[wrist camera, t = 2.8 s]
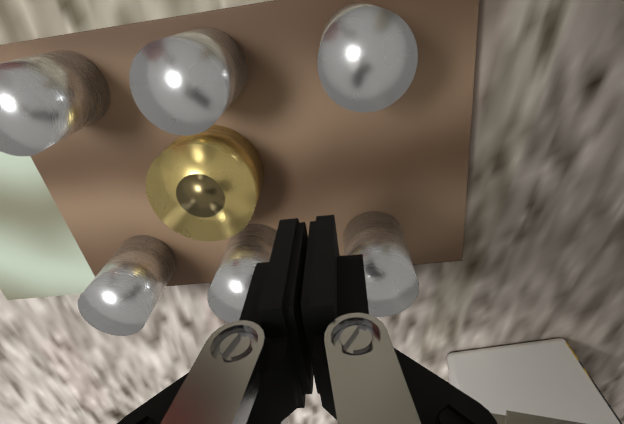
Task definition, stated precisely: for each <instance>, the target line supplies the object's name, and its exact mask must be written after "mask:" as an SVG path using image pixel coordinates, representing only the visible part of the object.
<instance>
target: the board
mask: <svg viewBox="0 0 624 424" xmlns="http://www.w3.org/2000/svg"><path fill="white" fill-rule="evenodd" d="M353 3H368V4H372V5H375V6H378V7H381V8H384V9H387V10H390V11H392V12H393V13H395V14H397V15H398V16H399V17H401V18H402V19H403V20H404V21H405V22H406V23H407V25H408V26H409V28H410V29H411V31H412V33H413V35H414V37H415V40H416V44H417V50H418V63H417V68H416V72H415V75H414V78H413V80H412V82H411V84H410V86H409V87H408V89H407V90H406V92H405V93H404V94H403V95H402V96H401V97H400V98H399V99H398V100H397V101H396V102H394V103H393V104H391V105H390V106H388V107H386V108H384V109H381V110H378V111H374V112H366V113H362V112H355V111H351V110H348V109H345V108H343V107H341V106H340V105H338V104H337V103H336V102H334V101H333V100H332V99H331V98H330V97H329V95H328V94H327V93H326V91H325V90H324V88H323V86H322V84H321V81H320V78H319V74H318V66H317V60H318V52H319V46H320V40H321V35H322V32H323V29H324V27H325V25H326V23H327V22H328V20H329V19H330V18H331V16H332V15H333V14H334V13H335V12H337V11H338V10H339V9H341V8H343V7H344V6H347V5H349V4H353ZM478 10H479V0H274V1H268V2H262V3H256V4H250V5H244V6H238V7H231V8H225V9H219V10H213V11H207V12H201V13H194V14H188V15H182V16H176V17H170V18H164V19H158V20H151V21H145V22H139V23H133V24H127V25H121V26H114V27H108V28H102V29H96V30H90V31H84V32H78V33H71V34H65V35H59V36H53V37H47V38H41V39H34V40H28V41H22V42H16V43H10V44H4V45H0V63H2V62H6V61H11V60H15V59H20V58H24V57H29V56H33V55H38V54H42V53H47V52H52V51H56V50H70V51H74V52H77V53H79V54H81V55H83V56H85V57H86V58H88V59H89V60H91V61H92V62H93V63H94V64H95V65H96V66H97V67H98V68H99V69H100V71H101V72H102V74H103V75H104V77H105V79H106V81H107V83H108V86H109V90H110V105H109V108H108V110H107V112H106V113H105V115H104V116H103V117H101V118H100V119H98V120H97V121H95V122H93V123H91V124H89V125H88V126H86V127H84V128H82V129H81V130H79V131H77V132H75V133H73V134H72V135H70V136H68V137H66V138H64V139H63V140H61V141H59V142H57V143H55V144H54V145H52V146H50V147H48V148H47V149H45V150H43V151H41V152H39V153H38V154H35V155H32V156H24V157H22V156H14V155H9V154H6V153H3V152H1V151H0V289H1V291H2V292H3V294H4V295H5V296H6V298H7V299H8V300H13V299H25V298H36V297H48V296H59V295H71V294H82V293H83V292H84V290H85V289H86V288H87V287H88V285H89V284H90V283H91V282H92V281H93V279H94V278H95V277H96V276H97V274H98V273H99V272H100V271H101V270H102V268H103V267H104V266H105V265H106V263H107V262H108V261H109V260H110V258H111V257H112V256H113V255H114V254H115V252H116V251H117V250H118V249H119V247H120V246H121V245H122V244H123V243H124V241H125V240H127V239H128V238H130V237H132V236H136V235H148V236H152V237H155V238H157V239H159V240H161V241H163V242H164V243H166V244H167V245H168V246H169V247H170V248H171V249H172V251H173V252H174V254H175V257H176V268H175V270H174V272H173V274H172V276H171V278H170V280H169V281H168V283H167V285H166V286H174V285H186V284H197V283H209V282H212V281H213V279H214V276H215V274H216V271H217V269H218V266H219V264H220V261H221V259H222V256H223V254H224V251H225V249H226V246H227V244H228V241H229V239H230V238H227V239H224V240H220V241H199V240H194V239H191V238H188V237H185V236H182V235H180V234H179V233H177V232H175V231H173V230H172V229H170V228H169V227H168V226H167V225H165V224H164V223H163V222H162V221H161V220H160V219H159V217H158V216H157V215H156V214H155V212H154V211H153V209H152V207H151V205H150V203H149V200H148V197H147V193H146V176H147V173H148V170H149V168H150V166H151V164H152V163H153V161H154V160H155V159H156V158H157V157H158V156H159V155H160V154H161V153H162V152H163V151H164V150H165V149H166V148H167V147H168V146H169V145H170V144H171V143H172V142H173V141H174V140H175V139H176V138H177V137H178V136H179V135H176V134H172V133H169V132H166V131H164V130H162V129H160V128H158V127H157V126H155V125H154V124H153V123H151V122H150V121H149V120H148V119H147V118H146V117H145V116H144V115H143V114H142V112H141V111H140V110H139V108H138V106H137V105H136V103H135V101H134V98H133V96H132V93H131V89H130V82H129V74H130V68H131V64H132V62H133V59H134V57H135V56H136V54H137V53H138V52H139V50H140V49H141V48H143V47H144V46H145V45H147V44H148V43H150V42H152V41H155V40H158V39H161V38H165V37H168V36H172V35H175V34H179V33H182V32H186V31H189V30H193V29H196V28H201V27H210V28H215V29H218V30H221V31H223V32H225V33H226V34H228V35H229V36H230V37H232V38H233V39H234V40H235V41H236V42H237V44H238V45H239V46H240V48H241V50H242V51H243V54H244V56H245V59H246V62H247V80H246V83H245V86H244V88H243V90H242V92H241V93H240V94H239V95H238V97H237V98H236V99H235V100H234V101H233V102H232V104H231V105H230V106H229V107H228V108H227V109H226V110H225V112H224V113H223V114H222V115H221V116H220V117H219V119H218V120H217V121H216V122H215V123H214V124H213V125H220V126H224V127H227V128H230V129H232V130H234V131H236V132H238V133H239V134H241V135H242V136H244V137H245V138H246V139H247V140H248V141H249V142H250V143H251V144H252V145H253V146H254V148H255V149H256V150H257V152H258V154H259V156H260V158H261V160H262V164H263V169H264V181H263V186H262V189H261V192H260V195H259V198H258V201H257V204H256V207H255V210H254V213H253V215H252V218H251V220H250V221H249V223H248V224H254V223H256V224H263V225H266V226H269V227H271V228H273V229H274V230H275V231H277V229H278V225H279V221H280V220H283V219H293V218H298V219H299V222H305V224H306V228H307V234H309V225H310V221H316V216H324V215H334V216H335V223H336V231H337V239H338V247H339V254H340V256H344V245H343V233H344V230H345V227H346V226H347V224H348V223H349V222H350V221H351V220H352V219H353V218H354V217H356V216H358V215H359V214H362V213H365V212H370V211H379V212H384V213H387V214H389V215H391V216H393V217H394V218H395V219H396V220H397V221H398V222H399V224H400V225H401V228H402V231H403V234H404V237H405V241H406V244H407V247H408V250H409V254H410V257H411V260H412V263H413V265H416V264H428V263H439V262H451V261H462V257H463V241H464V226H465V211H466V195H467V180H468V164H469V149H470V134H471V118H472V103H473V87H474V72H475V57H476V41H477V26H478Z"/></svg>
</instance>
